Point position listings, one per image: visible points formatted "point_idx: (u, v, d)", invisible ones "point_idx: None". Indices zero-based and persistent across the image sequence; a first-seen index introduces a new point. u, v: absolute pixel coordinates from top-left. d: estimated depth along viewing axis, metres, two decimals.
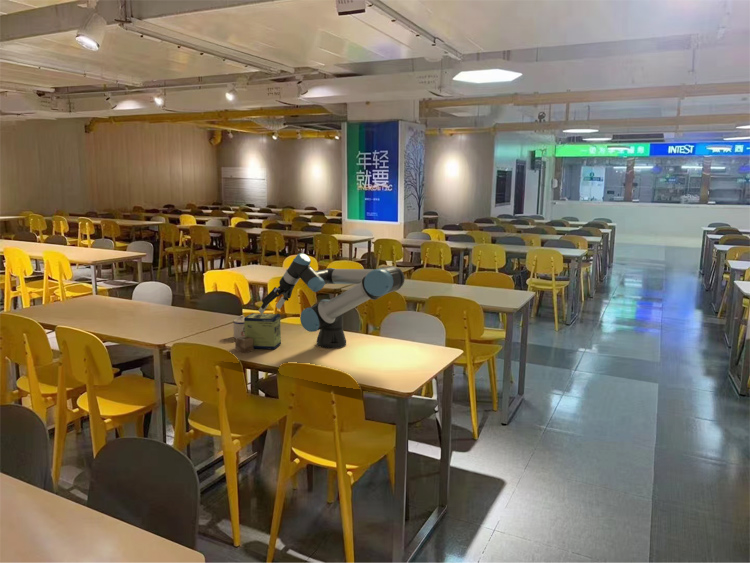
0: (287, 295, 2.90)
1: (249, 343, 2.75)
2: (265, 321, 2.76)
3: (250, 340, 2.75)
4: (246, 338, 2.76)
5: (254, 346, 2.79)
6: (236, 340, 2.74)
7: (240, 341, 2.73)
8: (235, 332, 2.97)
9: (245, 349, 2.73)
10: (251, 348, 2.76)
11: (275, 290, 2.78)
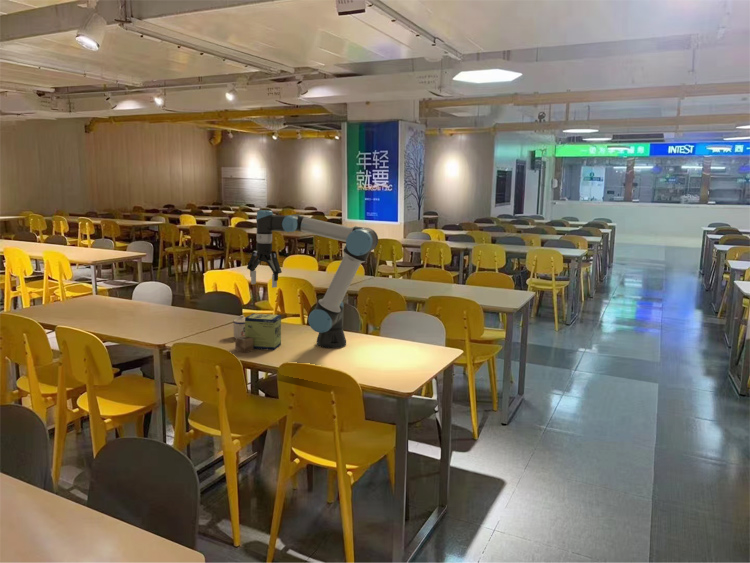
0: None
1: (249, 343, 2.75)
2: (266, 322, 2.76)
3: (250, 340, 2.75)
4: (246, 338, 2.76)
5: (254, 346, 2.79)
6: (236, 340, 2.74)
7: (240, 341, 2.73)
8: (235, 332, 2.97)
9: (245, 349, 2.73)
10: (251, 348, 2.76)
11: (275, 255, 2.73)
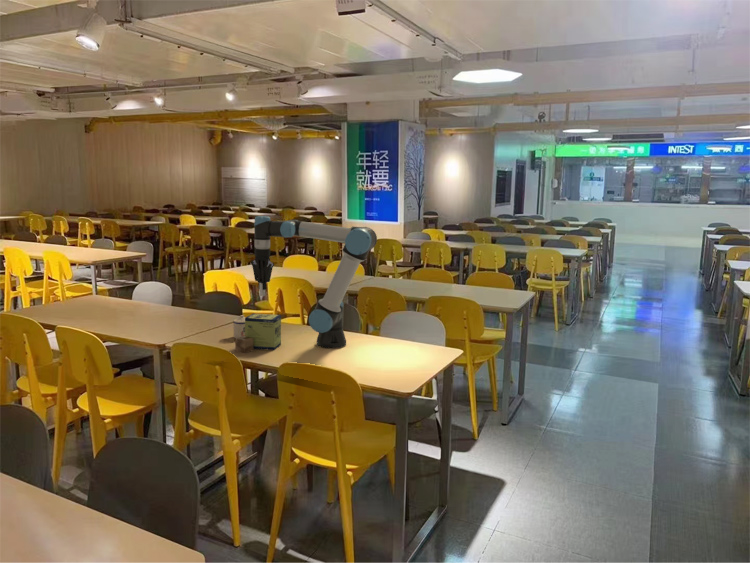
0: None
1: (249, 343, 2.75)
2: (266, 322, 2.76)
3: (250, 340, 2.75)
4: (246, 338, 2.76)
5: (254, 346, 2.79)
6: (236, 340, 2.74)
7: (240, 341, 2.73)
8: (235, 332, 2.97)
9: (245, 349, 2.73)
10: (251, 348, 2.76)
11: (272, 265, 2.75)
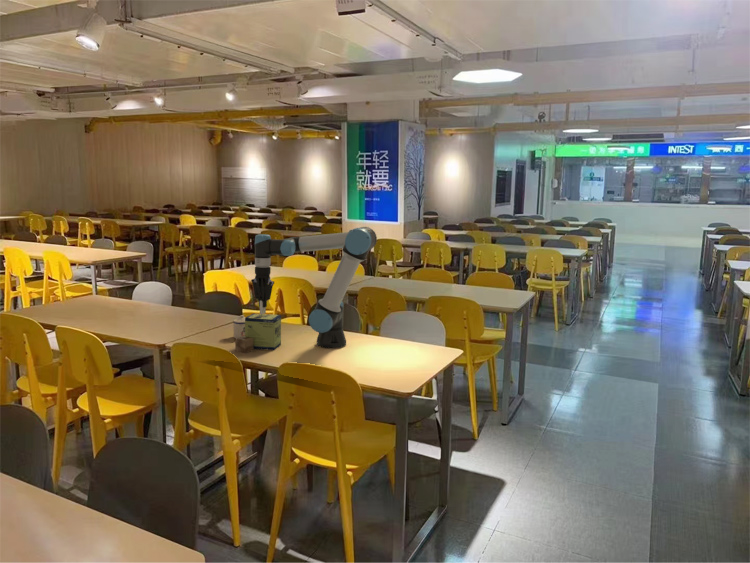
0: None
1: (249, 343, 2.75)
2: (266, 322, 2.76)
3: (250, 340, 2.75)
4: (246, 338, 2.76)
5: (254, 346, 2.79)
6: (236, 340, 2.74)
7: (240, 341, 2.73)
8: (235, 332, 2.97)
9: (245, 349, 2.73)
10: (251, 348, 2.76)
11: (272, 283, 2.76)
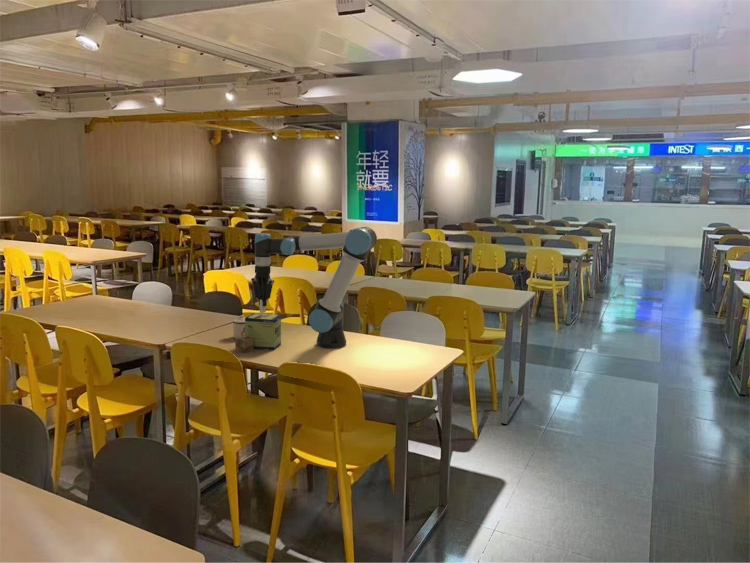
0: None
1: (249, 343, 2.75)
2: (266, 322, 2.76)
3: (250, 340, 2.75)
4: (246, 338, 2.76)
5: (254, 346, 2.79)
6: (236, 340, 2.74)
7: (240, 341, 2.73)
8: (235, 332, 2.97)
9: (245, 349, 2.73)
10: (251, 348, 2.76)
11: (272, 282, 2.76)
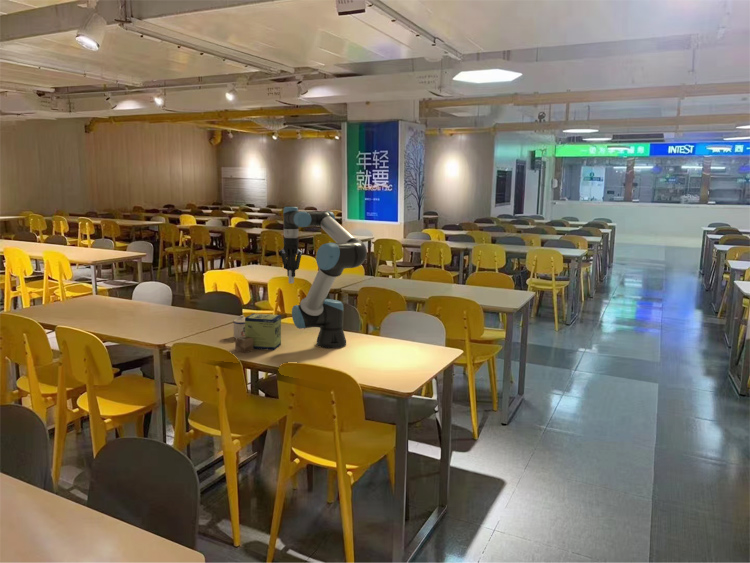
0: None
1: (249, 343, 2.75)
2: (266, 322, 2.76)
3: (250, 340, 2.75)
4: (246, 338, 2.76)
5: (254, 346, 2.79)
6: (236, 340, 2.74)
7: (240, 341, 2.73)
8: (235, 332, 2.97)
9: (245, 349, 2.73)
10: (251, 348, 2.76)
11: (301, 253, 2.89)
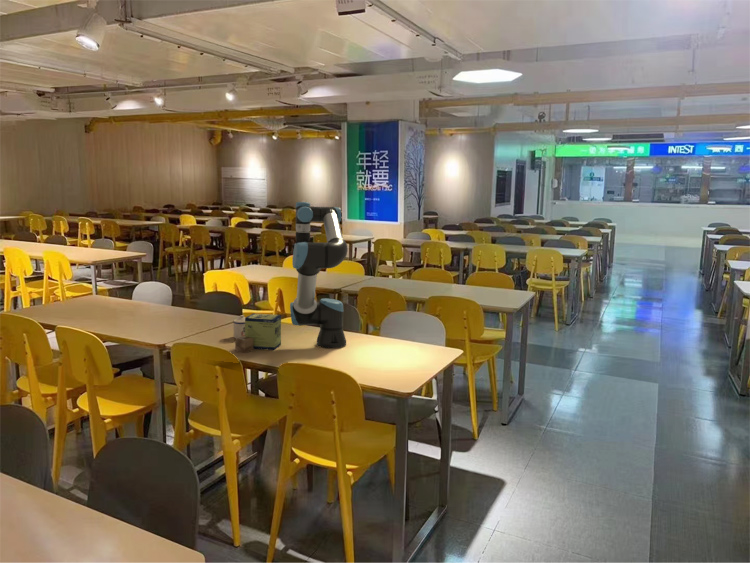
0: None
1: (249, 343, 2.75)
2: (266, 322, 2.76)
3: (250, 340, 2.75)
4: (246, 338, 2.76)
5: (254, 346, 2.79)
6: (236, 340, 2.74)
7: (240, 341, 2.73)
8: (235, 332, 2.97)
9: (245, 349, 2.73)
10: (251, 348, 2.76)
11: None
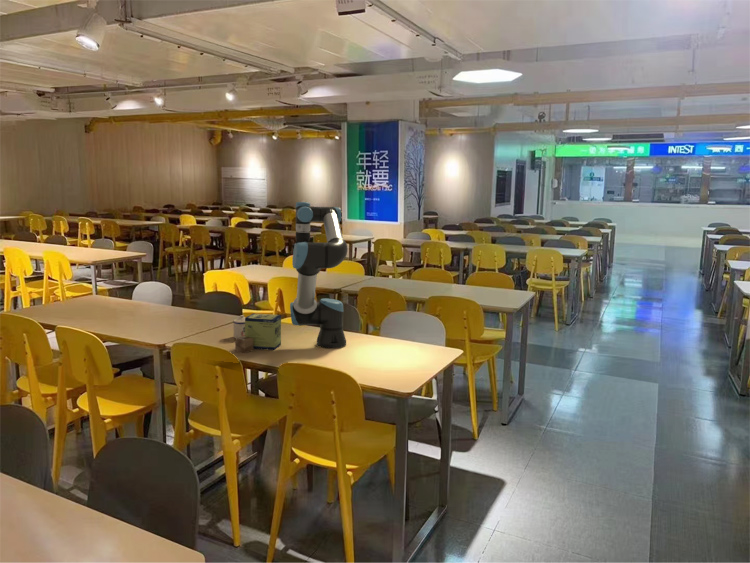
0: None
1: (249, 343, 2.75)
2: (266, 322, 2.76)
3: (250, 340, 2.75)
4: (246, 338, 2.76)
5: (254, 346, 2.79)
6: (236, 340, 2.74)
7: (240, 341, 2.73)
8: (235, 332, 2.97)
9: (245, 349, 2.73)
10: (251, 348, 2.76)
11: None
